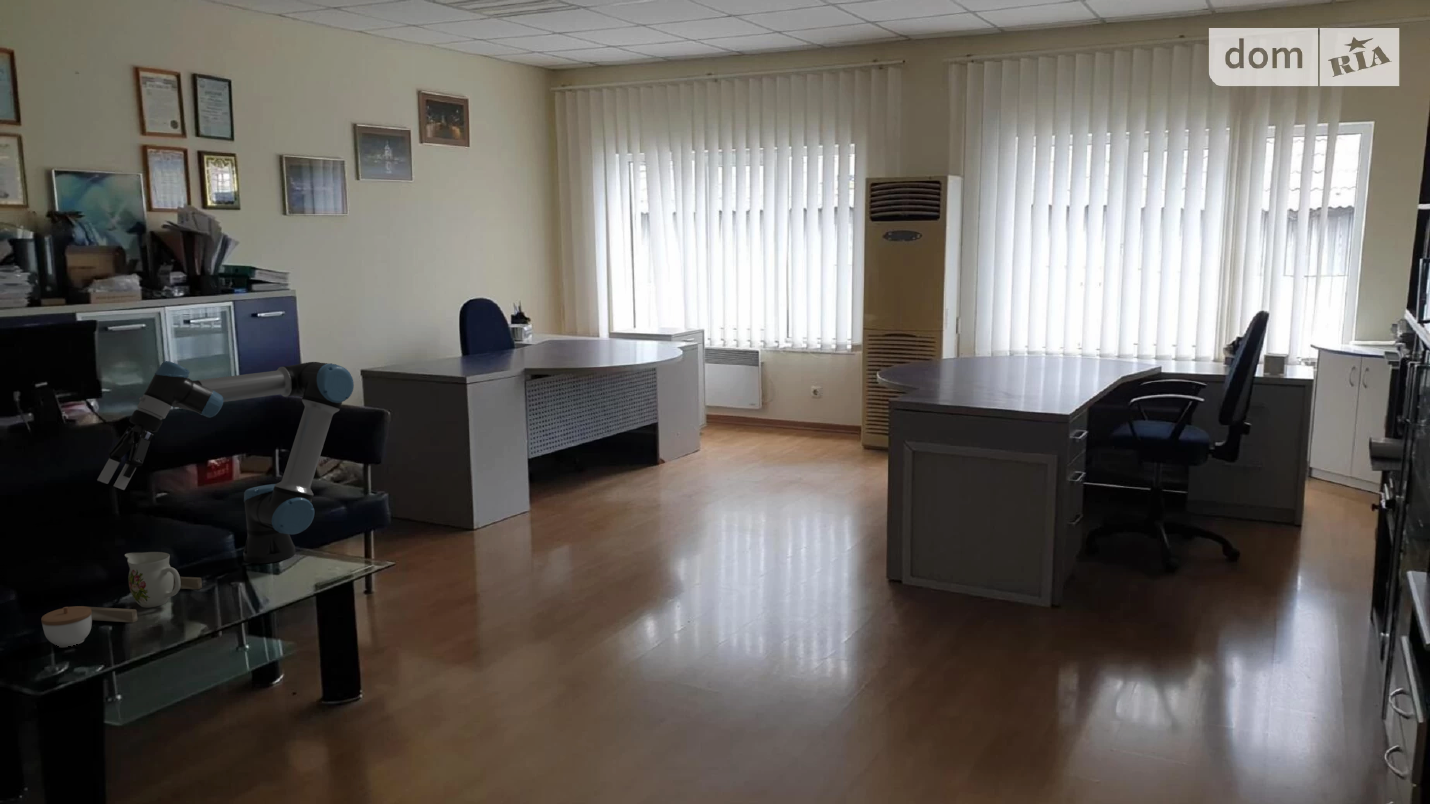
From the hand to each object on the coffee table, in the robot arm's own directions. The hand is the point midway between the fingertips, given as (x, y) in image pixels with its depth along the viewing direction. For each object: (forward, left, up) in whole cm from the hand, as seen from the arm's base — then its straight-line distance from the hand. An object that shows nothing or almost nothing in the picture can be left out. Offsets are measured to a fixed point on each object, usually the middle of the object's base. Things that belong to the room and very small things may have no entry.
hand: (110, 485), depth 273 cm
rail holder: (-5, +2, -35) cm, 36 cm away
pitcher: (-5, +6, -35) cm, 36 cm away
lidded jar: (+23, +4, -35) cm, 42 cm away
